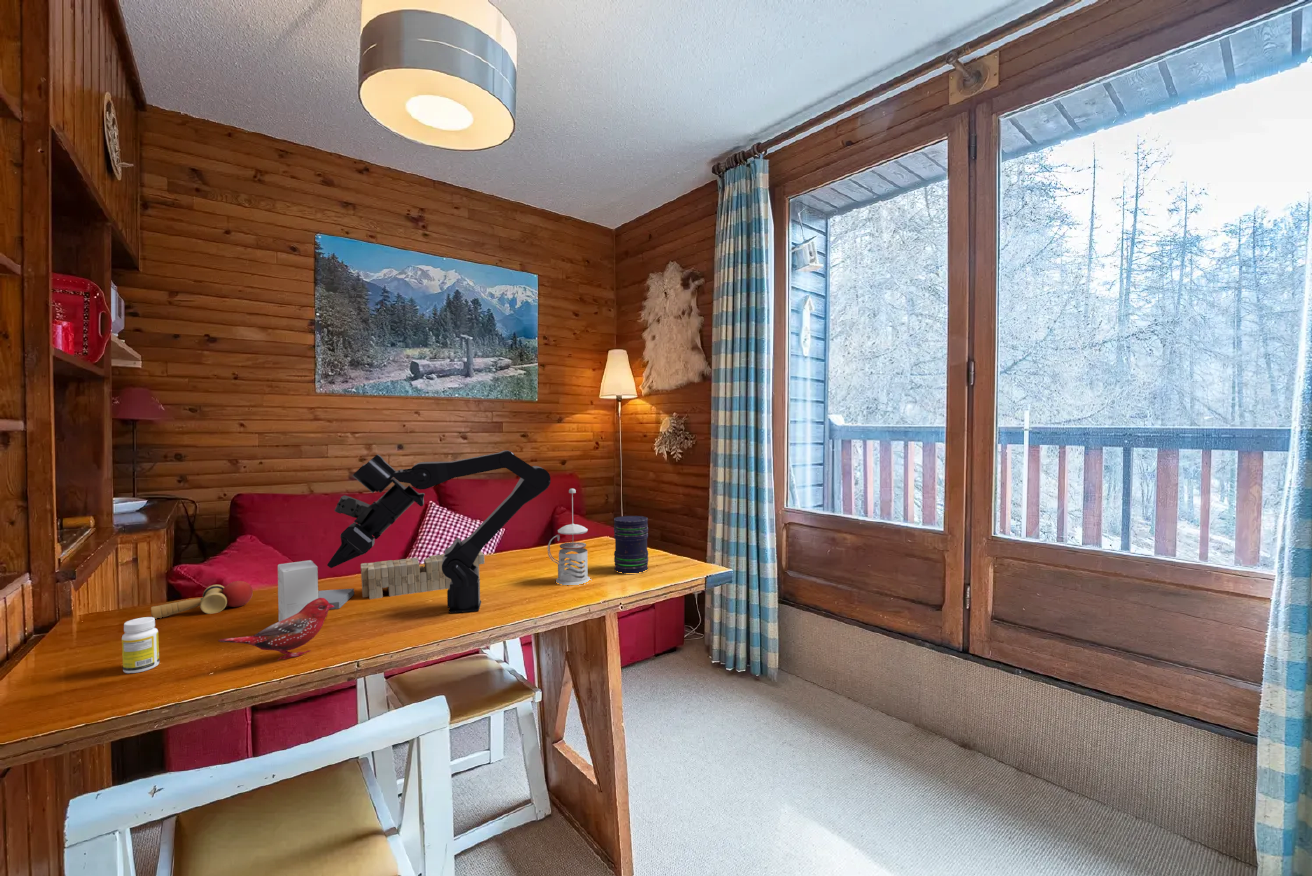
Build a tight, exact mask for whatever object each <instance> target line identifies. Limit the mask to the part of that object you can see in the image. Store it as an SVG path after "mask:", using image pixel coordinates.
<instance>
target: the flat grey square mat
mask: <svg viewBox="0 0 1312 876" xmlns="http://www.w3.org/2000/svg"><path fill="white" fill-rule="evenodd" d="M354 595H355V588H342V589H341V588H340V589H326V590H325V589H323V590H318V598H325V599H326V600H327V601H328V603H329V604H331V605H333V606H334V607H332V608H330V609H329V610H338V609H339V610H340V608H342V607H343V606H344V605H345V604H346V603H347V602H348V601H349V600H350V599H351V598H352V597H353V596H354Z"/></svg>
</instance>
